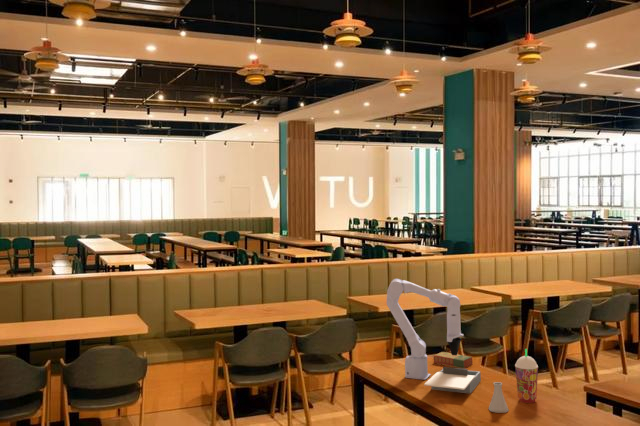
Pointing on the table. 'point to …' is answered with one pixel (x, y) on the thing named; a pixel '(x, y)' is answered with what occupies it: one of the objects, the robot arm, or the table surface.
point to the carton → (453, 360)
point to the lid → (451, 378)
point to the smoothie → (526, 378)
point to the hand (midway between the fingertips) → (454, 354)
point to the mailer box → (469, 387)
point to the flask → (498, 400)
